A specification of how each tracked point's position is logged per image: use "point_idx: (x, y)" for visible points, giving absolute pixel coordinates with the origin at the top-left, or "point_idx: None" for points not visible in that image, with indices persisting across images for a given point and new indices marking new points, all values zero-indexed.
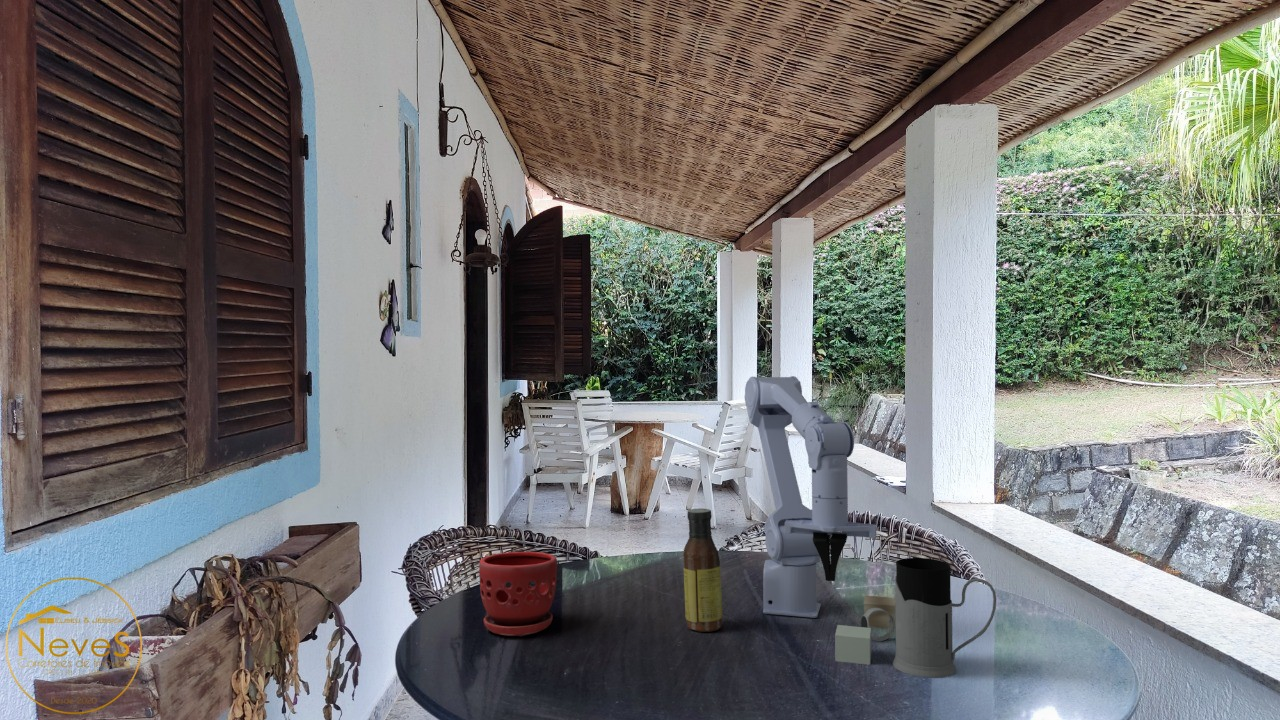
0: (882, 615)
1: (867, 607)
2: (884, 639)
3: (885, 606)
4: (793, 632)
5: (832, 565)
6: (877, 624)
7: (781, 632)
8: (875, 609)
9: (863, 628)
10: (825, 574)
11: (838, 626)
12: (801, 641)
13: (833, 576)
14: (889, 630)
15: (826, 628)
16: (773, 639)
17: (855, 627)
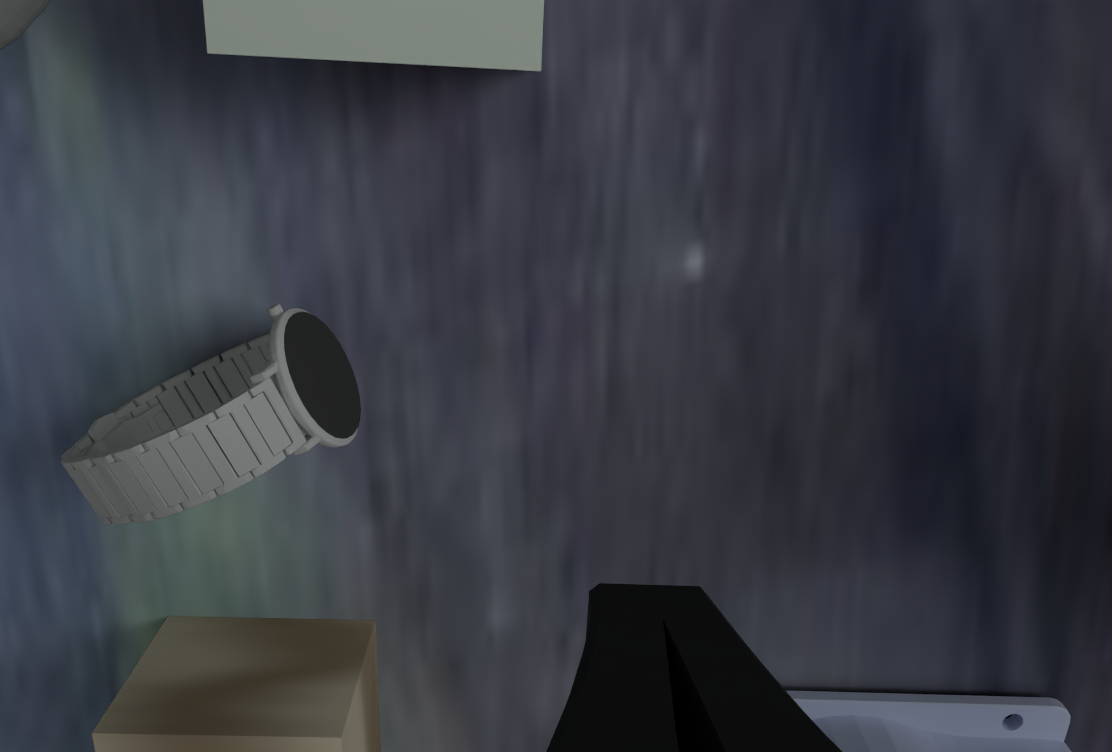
0: (224, 676)
1: (321, 715)
2: (206, 360)
3: (172, 725)
4: (870, 387)
5: (638, 707)
6: (281, 631)
7: (960, 366)
8: (186, 457)
9: (277, 13)
10: (729, 624)
11: (529, 16)
12: (820, 199)
13: (607, 606)
14: (155, 435)
15: (630, 523)
16: (1036, 192)
17: (359, 28)
